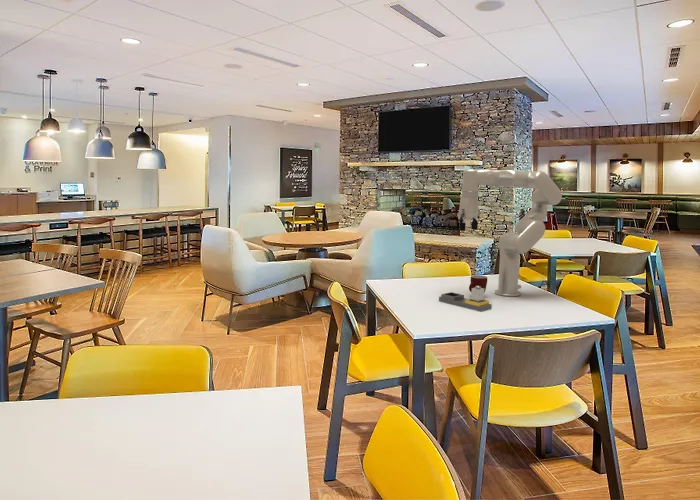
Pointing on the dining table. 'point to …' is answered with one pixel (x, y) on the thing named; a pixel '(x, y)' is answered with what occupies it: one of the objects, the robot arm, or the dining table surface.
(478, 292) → the knobbed metal block
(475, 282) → the mug
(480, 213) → the robot arm
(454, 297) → the grey flat elongated piece
